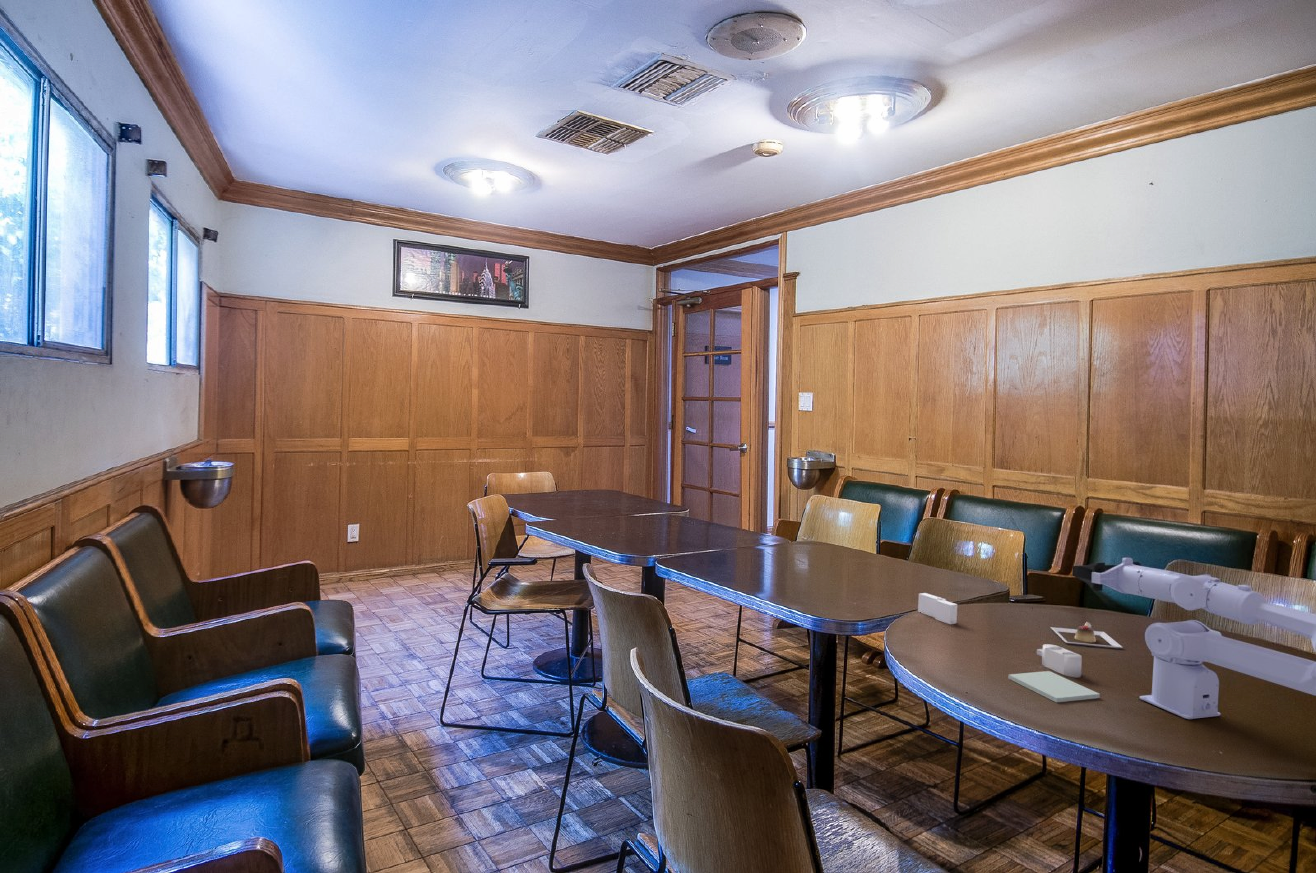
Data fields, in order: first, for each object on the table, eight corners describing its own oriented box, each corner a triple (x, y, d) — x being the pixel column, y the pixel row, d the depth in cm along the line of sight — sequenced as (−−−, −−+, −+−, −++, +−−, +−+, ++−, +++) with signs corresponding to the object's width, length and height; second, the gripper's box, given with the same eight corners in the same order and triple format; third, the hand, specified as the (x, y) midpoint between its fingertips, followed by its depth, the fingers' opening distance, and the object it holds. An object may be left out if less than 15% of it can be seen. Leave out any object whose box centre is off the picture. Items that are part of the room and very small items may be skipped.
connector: (1085, 676, 147) (1086, 657, 146) (1070, 677, 146) (1071, 658, 146) (1046, 659, 156) (1047, 641, 156) (1032, 660, 155) (1033, 642, 155)
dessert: (1065, 646, 167) (1066, 626, 167) (1050, 631, 179) (1050, 612, 179) (1123, 652, 165) (1124, 631, 164) (1103, 636, 176) (1104, 616, 176)
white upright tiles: (909, 610, 195) (910, 589, 195) (953, 613, 193) (954, 592, 192) (917, 626, 180) (918, 603, 180) (966, 630, 178) (967, 607, 178)
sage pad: (1099, 697, 135) (1099, 693, 135) (1056, 702, 133) (1056, 698, 133) (1049, 674, 147) (1049, 670, 147) (1008, 678, 144) (1008, 674, 144)
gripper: (1178, 561, 140) (1115, 551, 153) (1121, 561, 136) (1061, 551, 149) (1177, 597, 140) (1114, 584, 153) (1120, 599, 136) (1060, 585, 149)
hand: (1088, 570), depth 151 cm, fingers open, 7 cm apart
